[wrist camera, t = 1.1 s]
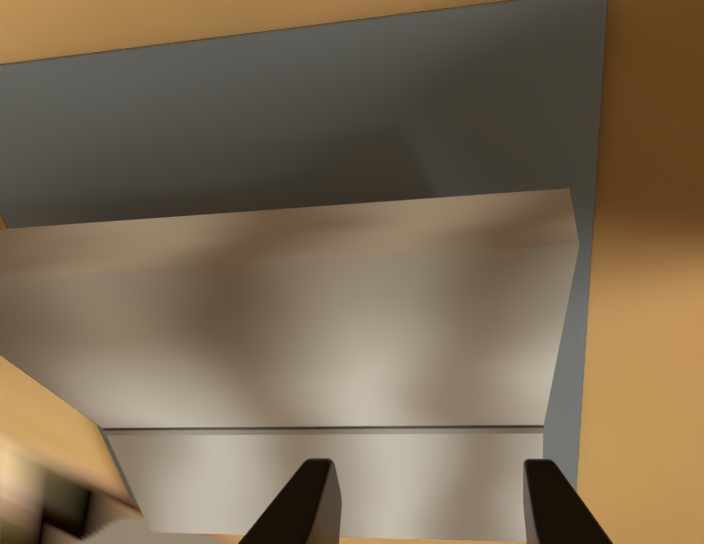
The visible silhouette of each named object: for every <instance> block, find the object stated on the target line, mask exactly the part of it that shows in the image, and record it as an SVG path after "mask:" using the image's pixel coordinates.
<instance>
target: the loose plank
mask: <svg viewBox="0 0 704 544" xmlns="http://www.w3.org/2000/svg"><path fill="white" fill-rule="evenodd" d="M578 250H579V239H578V234H577V228H576V222H575V217H574V211H573V206H572V200H571V195H570V189H569V188H567V189H553V190H539V191H525V192H511V193H497V194H483V195H470V196H456V197H442V198H428V199H414V200H400V201H386V202H372V203H358V204H345V205H331V206H317V207H303V208H289V209H275V210H261V211H247V212H234V213H220V214H206V215H192V216H178V217H164V218H150V219H136V220H122V221H109V222H95V223H81V224H67V225H53V226H39V227H25V228H11V229H0V355H1V356H2V357H4V358H5V359H6V360H8V361H9V362H11V363H12V364H13V365H15V366H16V367H18V368H19V369H20V370H22V371H23V372H25V373H26V374H27V375H29V376H30V377H32V378H33V379H34V380H36V381H37V382H39V383H40V384H41V385H43V386H44V387H46V388H47V389H48V390H50V391H51V392H53V393H54V394H55V395H57V396H58V397H60V398H61V399H62V400H64V401H65V402H67V403H68V404H69V405H71V406H72V407H74V408H75V409H76V410H78V411H79V412H81V413H82V414H83V415H85V416H86V417H88V418H89V419H90V420H92V421H93V422H95V423H96V424H97V425H99V426H100V427H102V428H178V427H317V426H457V425H544V421H545V416H546V411H547V406H548V401H549V396H550V391H551V386H552V380H553V375H554V370H555V365H556V360H557V355H558V350H559V345H560V340H561V335H562V330H563V325H564V320H565V315H566V310H567V305H568V300H569V295H570V290H571V285H572V280H573V275H574V270H575V265H576V260H577V255H578Z"/></svg>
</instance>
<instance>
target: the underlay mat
mask: <svg viewBox="0 0 704 544" xmlns="http://www.w3.org/2000/svg"><path fill="white" fill-rule="evenodd" d="M607 2H608V0H510V1H502V2H494V3H486V4H478V5H470V6H462V7H454V8H446V9H438V10H430V11H422V12H414V13H406V14H398V15H390V16H382V17H374V18H366V19H358V20H350V21H342V22H334V23H326V24H318V25H310V26H303V27H295V28H287V29H279V30H271V31H263V32H255V33H247V34H239V35H231V36H223V37H215V38H207V39H199V40H191V41H183V42H175V43H167V44H159V45H151V46H143V47H135V48H127V49H119V50H111V51H103V52H95V53H88V54H80V55H72V56H64V57H56V58H48V59H40V60H32V61H24V62H16V63H8V64H0V214H1V216H2V218H3V221H4V223H5V225H6V227H7V229H11V228H25V227H39V226H53V225H67V224H81V223H95V222H109V221H122V220H136V219H150V218H164V217H178V216H192V215H206V214H220V213H234V212H247V211H261V210H275V209H289V208H303V207H317V206H331V205H345V204H358V203H372V202H386V201H400V200H414V199H428V198H442V197H456V196H470V195H483V194H497V193H511V192H525V191H539V190H553V189H567V188H569V189H570V195H571V200H572V206H573V211H574V217H575V222H576V228H577V234H578V239H579V250H578V255H577V260H576V265H575V270H574V275H573V280H572V285H571V290H570V295H569V300H568V305H567V310H566V315H565V320H564V325H563V330H562V335H561V340H560V345H559V350H558V355H557V360H556V365H555V370H554V375H553V380H552V386H551V391H550V396H549V401H548V406H547V411H546V416H545V421H544V425H543V426H544V433H543V459H551V460H553V461H554V462H555V463H556V465H557V466H558V467H559V469H560V470H561V471H562V473H563V474H564V476H565V477H566V478H567V480H568V481H569V483H570V484H571V485H572V487H573V488H574V490H575V491H576V489H577V473H578V458H579V442H580V426H581V410H582V395H583V379H584V363H585V348H586V332H587V316H588V300H589V285H590V269H591V253H592V238H593V222H594V206H595V190H596V175H597V159H598V143H599V128H600V112H601V96H602V80H603V65H604V49H605V33H606V18H607ZM98 427H99V429H100V432H101V434H102V436H103V438H104V440H105V442H106V445H107V447H108V449H109V451H110V453H111V455H112V458H113V460H114V462H115V464H116V466H117V468H118V471H119V473H120V475H121V477H122V479H123V482H124V484H125V486H126V488H127V490H128V492H129V495H130V497H131V499H132V501H133V503H137V501H136V499H135V497H134V495H133V492H132V490H131V488H130V486H129V484H128V481H127V479H126V477H125V475H124V473H123V470H122V468H121V466H120V464H119V462H118V459H117V457H116V455H115V453H114V451H113V449H112V446H111V444H110V442H109V440H108V438H107V436H104V433H103V429H104V428H102V427H100V426H99V425H98Z"/></svg>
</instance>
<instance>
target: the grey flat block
mask: <svg viewBox="0 0 704 544" xmlns="http://www.w3.org/2000/svg"><path fill="white" fill-rule="evenodd" d="M103 433H104V436H107V438H108V440H109V442H110V444H111V446H112V449H113V451H114V453H115V455H116V457H117V459H118V462H119V464H120V466H121V468H122V470H123V473H124V475H125V477H126V479H127V481H128V484H129V486H130V488H131V490H132V492H133V495H134V497H135V499H136V501H137V503H138V506H139V508H140V510H141V512H142V514H143V517H144V519H145V521H146V523H147V525H148V528H149V529H150V532H161V533H199V534H239V535H246V533H247V532H248V531H249V530H250V528H251V527H252V526H253V525H254V523H255V522H256V521H257V520H258V518H259V517H260V516H261V515H262V513H263V512H264V511H265V510H266V508H267V507H268V506H269V505H270V503H271V502H272V501H273V500H274V498H275V497H276V496H277V495H278V493H279V492H280V491H281V490H282V488H283V487H284V486H285V485H286V483H287V482H288V481H289V480H290V479H291V477H292V476H293V475H294V474H295V472H296V471H297V470H298V469H299V467H300V466H301V465H302V464H303V462H304V461H305V460H307V459H309V458H329V459H332V460H333V462H334V464H335V468H336V472H337V477H338V482H339V486H340V491H341V498H342V511H341V523H340V534H339V537H358V538H398V539H437V540H477V541H516V542H527V539H526V529H525V519H524V507H523V463H524V461H525V460H526V459H543V433H544V426H543V425H457V426H317V427H178V428H104V429H103Z"/></svg>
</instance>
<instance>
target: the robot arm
mask: <svg viewBox="0 0 704 544" xmlns="http://www.w3.org/2000/svg"><path fill="white" fill-rule="evenodd" d="M523 507H524V519H525V529H526V539H527V544H613V543H612V541H611V540H610V539H609V537H608V536H607V534H606V533H605V532H604V530H603V529H602V527H601V526H600V525H599V523H598V522H597V520H596V519H595V518H594V516H593V515H592V513H591V512H590V511H589V509H588V508H587V506H586V505H585V504H584V502H583V501H582V499H581V498H580V497H579V495H578V494H577V492H576V491H575V490H574V488H573V487H572V485H571V484H570V483H569V481H568V480H567V478H566V477H565V476H564V474H563V473H562V471H561V470H560V469H559V467H558V466H557V465H556V463H555V462H554V461H553V460H551V459H526V460H525V461H524V463H523ZM341 511H342V498H341V491H340V486H339V482H338V477H337V472H336V468H335V464H334V462H333V460H332V459H329V458H309V459H307V460H305V461H304V462H303V464H302V465H301V466H300V467H299V469H298V470H297V471H296V472H295V474H294V475H293V476H292V477H291V479H290V480H289V481H288V482H287V483H286V485H285V486H284V487H283V488H282V490H281V491H280V492H279V493H278V495H277V496H276V497H275V498H274V500H273V501H272V502H271V503H270V505H269V506H268V507H267V508H266V510H265V511H264V512H263V513H262V515H261V516H260V517H259V518H258V520H257V521H256V522H255V523H254V525H253V526H252V527H251V528H250V530H249V531H248V532H247V533H246V535H245V536H244V537H243V538H242V540H241V541H240V542H239V543H238V544H339V534H340V523H341Z"/></svg>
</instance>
